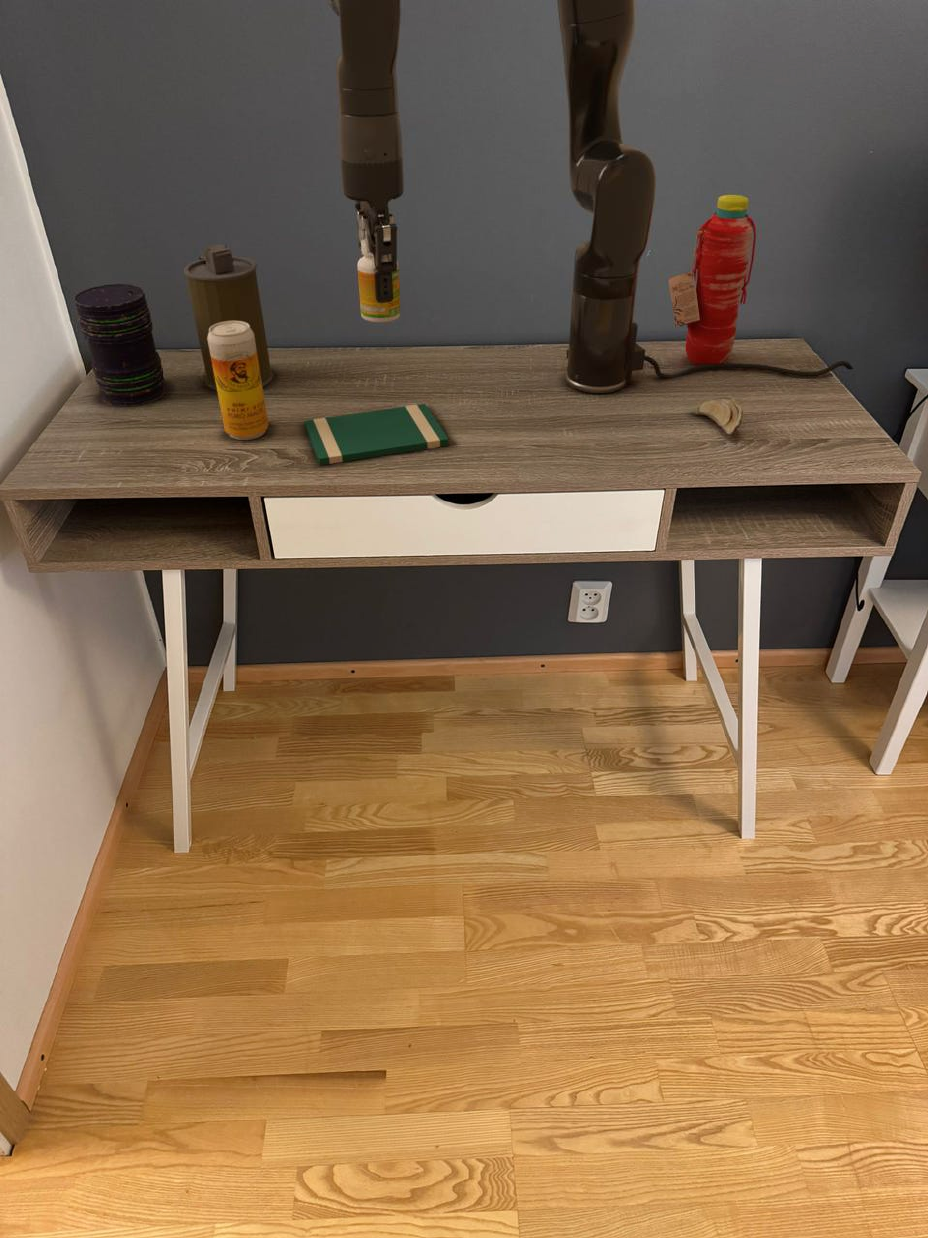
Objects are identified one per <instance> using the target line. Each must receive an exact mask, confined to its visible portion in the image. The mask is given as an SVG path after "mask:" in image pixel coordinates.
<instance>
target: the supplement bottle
mask: <svg viewBox="0 0 928 1238" xmlns="http://www.w3.org/2000/svg"><path fill="white" fill-rule="evenodd" d="M373 246H375V247H376V244H375V245H373ZM360 251H361V255H362V254H363V255H364V257H363V256H362V257H360V258H359V260H358V261H357V278H358V293H359V306H360V307H359V308H360V315H361V318H362V319H363V320H365V321H367V322H371V323H387V322H388V323H389V322H392V321H395V320H397V319H399V318H400V317H401V313H402V311H401V309H402V308H401V288H400V285H401V284H400V267H399V261H398V260H397V271H394V272H392V282H393V300H392V301H391V302H386V303H379V302H377V300H376V295H375V279H374V271H373V262H372V256H371V255H369V254H368V252H367V246H366V239H364V240H362V241H361V250H360ZM381 262H388V261H387V255H382V257H381Z"/></svg>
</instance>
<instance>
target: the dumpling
mask: <svg viewBox="0 0 928 1238" xmlns="http://www.w3.org/2000/svg"><path fill="white" fill-rule="evenodd" d="M694 414H696V415H697V416H701V415H703V416H706V417H708V418H709V419H711V420H712V421H714V422H715V423H716V424H717V425H718V426H719V427H721V428H722V430H723V431H724V432H725V434H728V435H729V436H731V437H732V438H734V437H735V435H738V432H737V431H738V430H737V429H739V428H740V426H741V424H742V421H743V417H744V411H743V405H742V404H740V403H738V402H737V401H736V400H735V399H733V398H731V397H717V398H714V399H710V400H709V399H708V400H706V401H704V402H702V403H700V404H698V405H697V406H696V408H695V410H694Z"/></svg>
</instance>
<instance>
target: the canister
mask: <svg viewBox="0 0 928 1238" xmlns="http://www.w3.org/2000/svg"><path fill="white" fill-rule="evenodd" d="M203 253H204V255H203V256H198V260H195V261H193V262H190V263H189V264H187V265H186V266H185V267H184V269H183V274H184V276H185V278H186V283H187V287H188V294H189V296H190V302H191V308H192V313H193V317H194V321H195V322H194V323H195V327H196V333H197V338H198V342H199V347H200V351H201V357H202V362H203V366H204V372H205V376H206V377H205V384H206V386H207V387H208V388H209V389H210V390H213V391H216V392H217V387H216V382H215V376H214V371H213V366H212V361H211V355H210V350H209V345H208V340H207V337H208V333H209V328H210V327H211V326H212V325H214V324H216V323H219V322H224V321H243V322H246V323H248V324H249V325H250V328H251V330H252V331H253V333H254V337H255V343H256V350H257V356H258V362H259V369H260V375H261V381H262V388H264V387H266V386H267V385H269V384H270V383H271V381H272V380H273V378H274V374H273V372H272V369H271V362H270V356H269V350H268V342H267V337H266V329H265V323H264V316H263V309H262V303H261V296H260V290H259V283H258V276H257V268H258V266H257V263H256V262H255V261H254V260H253V259H250V258H248V257H242V256H233V254H232V250H231V249H230V248H229V247H227V245H226V244H224V243H221V244H217V245H216V244H215V245H211V246H205V247H203Z"/></svg>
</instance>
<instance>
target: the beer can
mask: <svg viewBox="0 0 928 1238" xmlns="http://www.w3.org/2000/svg"><path fill="white" fill-rule="evenodd" d="M207 340H208V345H209V350H210V355H211V361H212V366H213V371H214V376H215V382H216V387H217V391H216V392H217V397H218V402H219V408H220V413H221V418H222V424H223V428H224V431H225V433H227V435H229V437H231V438H232V439H233V440H234V439H235V440H237V441H249V440H255V439H257V438H261V436H264V434H265V433H266V430H267V429H268V427H269V420H268V414H267V408H266V402H265V401H266V400H265V395H264V394H265V393H264V389H263V388H264V387H262V381H261V375H260V369H259V362H258V356H257V350H256V343H255V337H254V333H253V331H252V330H251V328H250V325H249V324H248V323H246V322H243V321H224V322H219V323H216V324H214V325H212V326H211V327H210V328H209V333H208V337H207Z"/></svg>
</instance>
